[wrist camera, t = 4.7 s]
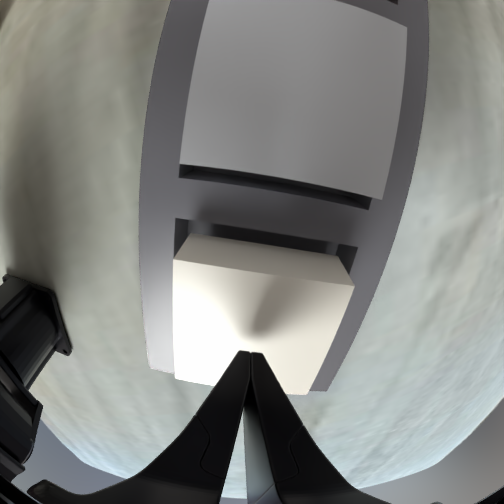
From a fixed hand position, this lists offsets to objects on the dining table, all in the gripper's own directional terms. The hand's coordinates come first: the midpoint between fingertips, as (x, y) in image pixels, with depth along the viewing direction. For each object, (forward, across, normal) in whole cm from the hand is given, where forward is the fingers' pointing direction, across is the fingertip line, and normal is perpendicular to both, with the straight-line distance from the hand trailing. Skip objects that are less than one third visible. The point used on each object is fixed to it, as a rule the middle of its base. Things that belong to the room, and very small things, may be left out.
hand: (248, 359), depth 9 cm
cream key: (+3, 0, 0) cm, 3 cm away
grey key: (+3, 0, -9) cm, 10 cm away
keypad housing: (+6, 0, -9) cm, 11 cm away
